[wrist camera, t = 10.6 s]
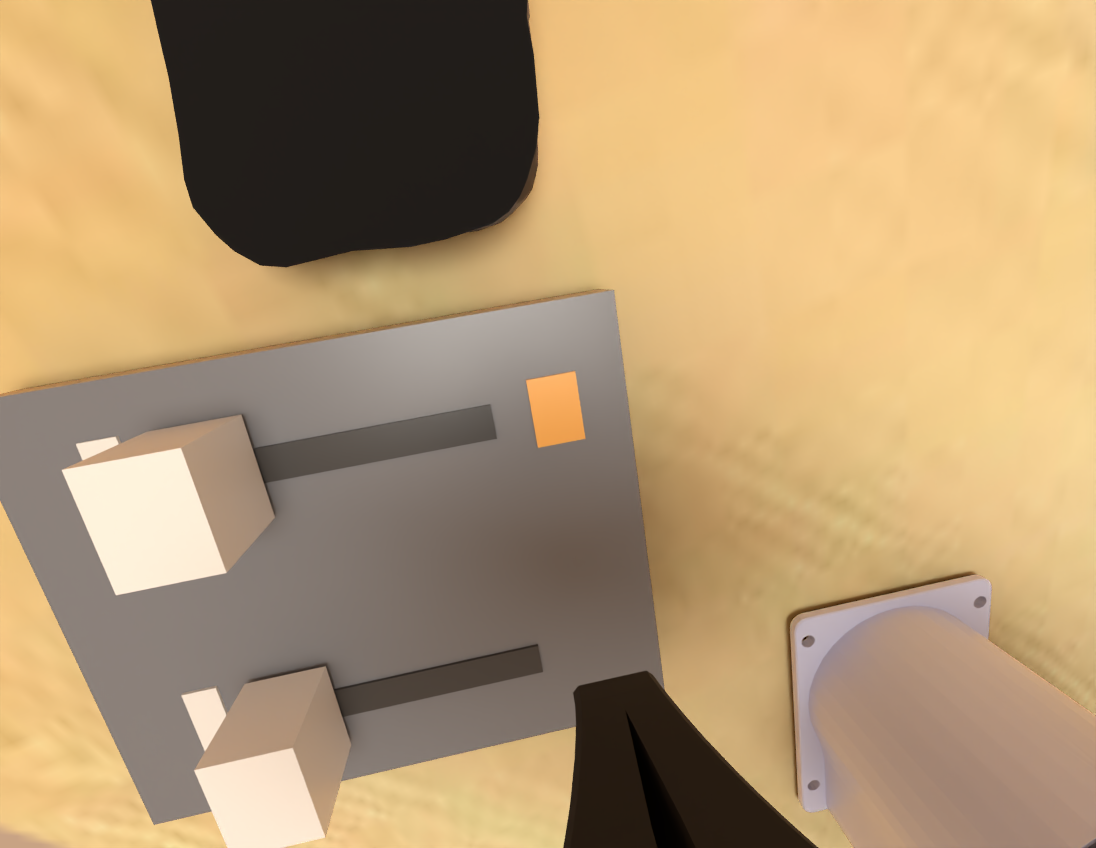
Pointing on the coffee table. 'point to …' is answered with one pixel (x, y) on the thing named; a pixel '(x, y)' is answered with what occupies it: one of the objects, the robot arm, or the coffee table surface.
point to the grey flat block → (365, 537)
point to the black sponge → (350, 119)
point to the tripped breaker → (172, 503)
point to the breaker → (276, 762)
